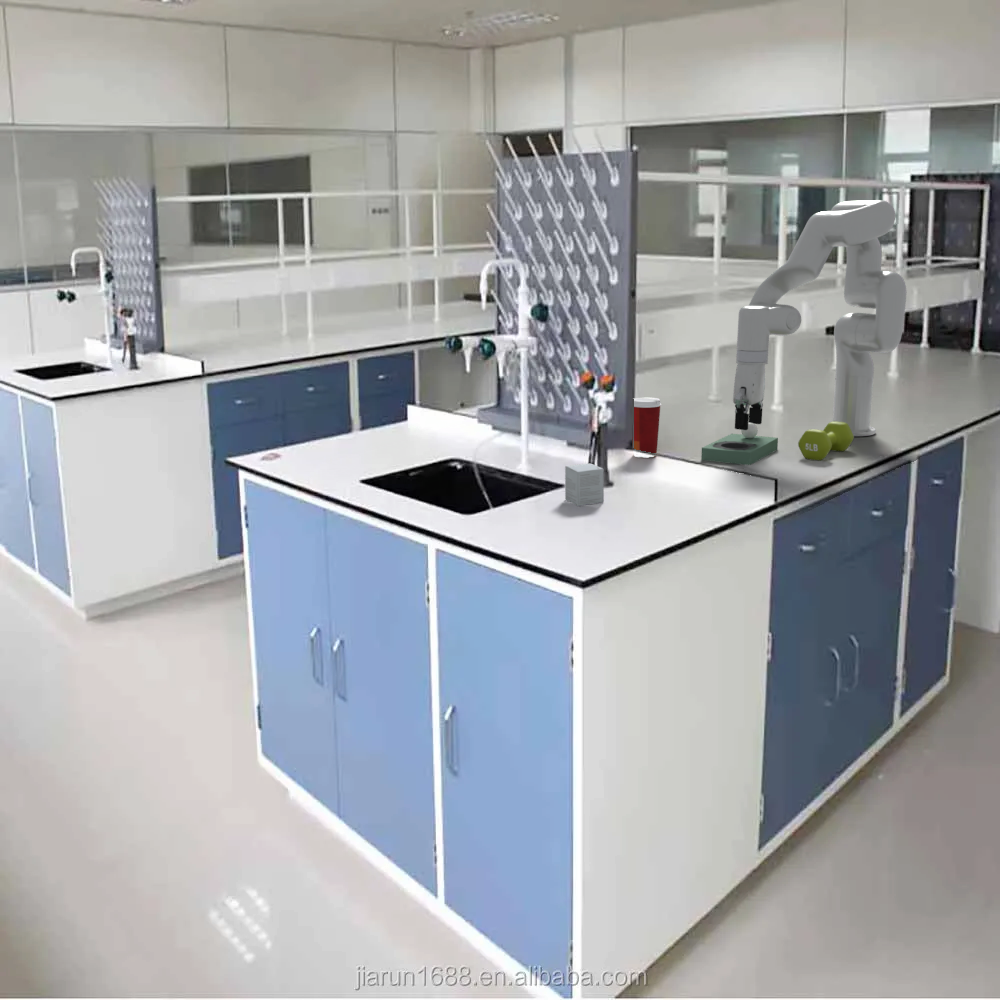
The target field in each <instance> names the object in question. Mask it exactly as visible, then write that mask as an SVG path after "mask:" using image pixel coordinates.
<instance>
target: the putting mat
mask: <svg viewBox="0 0 1000 1000" xmlns="http://www.w3.org/2000/svg"><path fill="white" fill-rule="evenodd" d="M778 444H779V438H778V437H773V436H760V435H756V436H755V437H753V438H751V439H748V438H745V437H744V436H743V435H742V433H739V434H738V433H730V434H728V435H726V436H724V437H721V438H719V439H717V440H716V441H713V442H711V443H709V444H706V445H704V446H703V447H701V456H700V457H701V461H707V462H716V463H727V464H735V465H744V466H751V465H752V464H754V463H756V462H758V461H760V460H761V459H763V458H765V457H767V456H768V455H770V454H773V453H775V451H778V449H779V448H778Z"/></svg>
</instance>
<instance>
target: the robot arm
mask: <svg viewBox="0 0 1000 1000" xmlns="http://www.w3.org/2000/svg"><path fill="white" fill-rule="evenodd" d="M895 221H896V211H895V208H894V206H893V205H892V204H891V203H890V202H889V201H887V200H882V199H875V200H846V201H842V202H838V203H836V204H834V205H833V206H832V207H831V209H830V210H827V211H825V210H823V211H820V212H816V213H814V214H813V215H811V216H810V217H809V218H808V220H807V221H806V224H805V226H804V228H803V230H802V231H801V233H800V236H799V237H798V239H797V241H796V244H795V245H794V247H793V249H792V251H791V253H790V255H789V256H788V259H787V261H786V262H785V263H784V264H783V265H782V266H780V267H779V268H777V269H776V270H775V271H773V273H771V274H770V275H769V276H768V277H767V278H766V279H765V280H764V281H762V283H760V285H759V286H758V287H757V289H756V290H755V293H754V294H753V296H752V298H751V300H750V302H749V304H748V305H745V306H742V307H740V309H739V311H738V321H737V340H736V356H735V357H736V361H735V362H736V363H735V364H736V370H735V374H734V375H735V376H734V383H733V393H732V403H734V407H735V408H734V413H735V415H734V416H735V417H734V429H735V430H739V431H740V430H747V429H748V423H749V422H750V423H754V424H755V425H761V424H762V422H763V421H762V419H763V408H764V407H763V406H764V402H763V401H764V399H765V398H764V397H765V387H766V365H768V364H769V363H768V362H769V361H768V360H769V346H770V336H771V335H772V336H780V337H782V336H783V337H785V336H790V335H792V334H794V333H796V332H797V330H799V328H800V326H801V325H802V315H801V312H800V311H799V310H798V309H797V308H796V307H794V306H792V305H789V304H780V303H778V301H779V300H780V299H781V298H782V297H783V296H785V295H786V294H788V293H789V292H790V291H793V290H794V289H798V288H799V287H802V286H805V285H807V284H809V283H811V282H813V281H815V280H816V279H817V278H818V277H819V276H820V274H821V272H822V269H823V268H824V267H825V263H826V262H827V261H828V257H829V256H830V255H831V253H832V250H833V249H834V247H835V248H836V247H845V250H846V266H845V276H844V288H843V289H844V291H843V295H844V296H843V297H844V300H845V303H846V304H847V305H848V306H850V307H855V308H860V309H872V310H873V309H875V313H866V312H865V313H864V312H848V313H845V314H843V315H842V316H841V317H839V318H838V320H837V321H836V322H835V324H834V331H833V337H834V344H835V353H836V354H835V355H836V357H835V358H836V361H835V362H836V364H835V380H834V395H833V410H832V413H833V414H832V422H833V421H837V422H844V423H847V424H848V425H849V427H850V429H851V431H852V433H853V436H854V437H867V436H868V437H869V436H873V435H875V434H876V431H877V429H876V428H875V427H873V426H871V416H872V415H871V414H872V404H873V401H872V399H873V388H874V387H873V386H874V385H873V384H874V371H875V367H874V361H873V358H872V355H871V353H870V352H872V353H873V352H874V353H885V354H886V353H890V352H891V353H892V352H893V351H895V350H896V349H897V348H898V346H899V344H900V343H901V340H902V336H903V329H904V321H905V313H906V311H905V310H906V305H907V304H906V302H907V286H906V282H905V280H904V278H903V277H902V275H901V274H900V273H898V272H895V271H891V270H889V271H888V270H882V257H883V255H882V253H883V251H882V247H881V243H880V240H879V238H880V237H882V236H885V235H886V234H888V232H890V231H891V229H892V228H893V226H894V224H895Z"/></svg>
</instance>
